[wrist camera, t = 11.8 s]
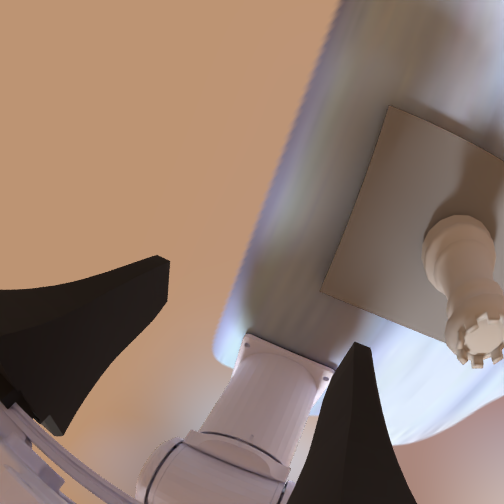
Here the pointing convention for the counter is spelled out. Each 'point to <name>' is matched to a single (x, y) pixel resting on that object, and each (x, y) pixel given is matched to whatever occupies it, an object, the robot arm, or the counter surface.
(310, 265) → the counter surface
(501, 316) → the rook chess piece
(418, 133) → the mat
